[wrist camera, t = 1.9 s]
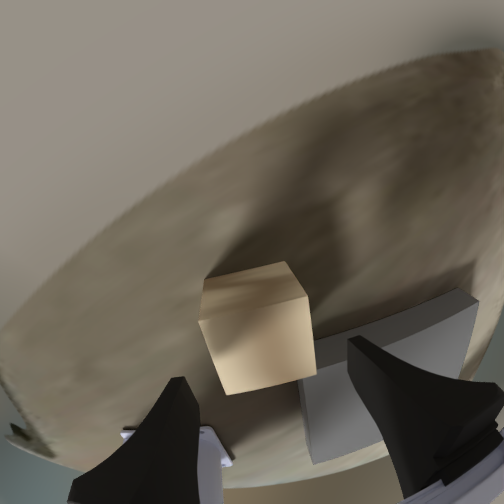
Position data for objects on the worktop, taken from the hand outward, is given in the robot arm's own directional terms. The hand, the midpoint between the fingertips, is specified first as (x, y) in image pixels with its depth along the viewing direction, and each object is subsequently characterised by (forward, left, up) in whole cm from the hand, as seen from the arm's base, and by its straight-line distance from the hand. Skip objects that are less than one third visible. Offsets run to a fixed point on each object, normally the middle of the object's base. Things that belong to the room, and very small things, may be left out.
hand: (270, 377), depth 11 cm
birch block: (0, 0, -7) cm, 7 cm away
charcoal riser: (+10, -11, -7) cm, 16 cm away
